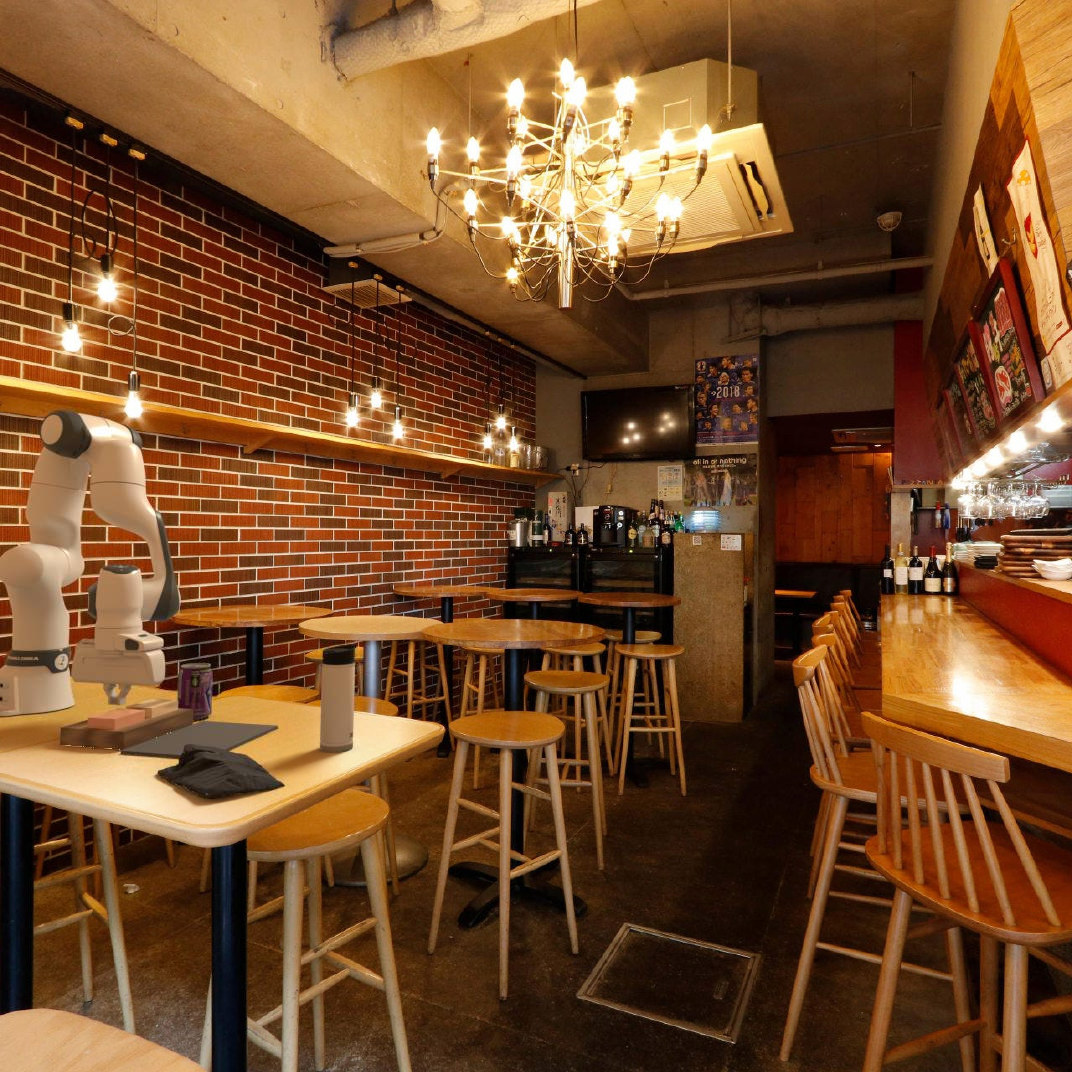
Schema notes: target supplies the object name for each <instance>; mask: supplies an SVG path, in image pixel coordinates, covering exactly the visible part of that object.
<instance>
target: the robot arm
mask: <svg viewBox="0 0 1072 1072" xmlns="http://www.w3.org/2000/svg"><path fill="white" fill-rule="evenodd" d="M39 427H40V428H39V438H40V442H41V444H42V446H43V448H42V450H41V451H40V454H39V455H38V456H39V457H38V459H37V461H36V464H35V467H34V470H33V474H32V477H31V478H32V479H31V483H30V488H29V493H28V497H27V504H26V508H25V518H26V520H27V522H28V526H29V527H28V528H29V534H30V535H29V536H30V543H23V544H20V545H17V546H14V547H11V548H10V549H8V550H7V551H5V552H4V553H3V554H2V555H1V556H0V580H1V582H2V583H3V584H4V586H5V588H6V592H7V595H8V600H9V604H10V608H11V613H12V614H11V615H12V635H11V636H12V637H11V638H12V641H11V642H12V643H11V646H12V647H11V648H10V650H9V651H3V652H1V654H2V656H1V658H6V659H5V662H4V665H3V666H2V667H1V668H0V717H9V716H17V715H26V714H38V713H39V714H40V713H46V712H54V711H59V710H63V709H67V708H70V707H73V706H75V704H76V702H75V698H74V695H73V691H72V690H73V689H72V682H71V679H72V681H73V682H74V683H86V684H88V683H89V684H102V685H103V686H102V687H103V688H102V690H103V691H104V693H105V695H106V697H107V705H109V706H124V705H126V703H127V696H128V694H129V693H130V691H131V690H132V686H139V687H140V686H143V687H145V686H146V687H153V686H157V685H160V684H162V683H163V681H164V680H165V677H166V660H165V654H164V652H163V651H162V648H163V647H164V644H165V643H164V639H163V638H162V637H160V636H157V635H155V634H152V633H151V632H150V633H149V632H148V631H146V630H144V629H143V622H144V621H149V622H162V623H163V622H167V621H168V620H170V619H172V618H173V617H174V616H175V615H176V614H177V613H179V611H180V607H181V603H182V602H181V601H182V599H181V598H182V597H181V593H180V590H179V586H178V584H177V580H176V575H175V571H174V567H173V561H172V556H171V551H170V544H169V539H168V536H167V530H166V526H165V523H164V519H163V516H162V514H161V512H160V511H158V510H157V509H155V508H154V507H152V505H151V504H150V501H149V499H148V498H147V488H146V487H147V486H146V485H147V483H146V470H145V463H144V458H143V454H142V450H143V439H142V437H141V435H140V433H139V432H138V431H136V430H135V429H134V428H132V427H130V426H128V425H127V424H124V423H119V422H116V421H114V420H111V419H109V418H106V417H105V418H104V417H102V416H98V415H97V416H94V415H91V414H86V413H79V412H76V411H75V410H69V409H56V410H52V411H51V412H49V413H48V414H47V415H46V416H45V417H44V419H43V420H42V421H41V424H40V426H39ZM89 475H90V482H89V483H90V485H89V488H90V489H89V497H90V503H91V508H92V510H93V512H94V513H95V515H96V516H97V517H99V518H100V519H101V520H103V522H106V523H107V524H110V525H112V526H114V527H116V528H119V529H122V530H125V531H128V532H130V533H134V534H136V535H137V536H139V537H141V538H142V539H143V540H144V541H145V542H146V544H147V546H148V549H149V555H150V560H151V564H152V565H151V566H152V570H153V576H152V577H150V578H142V577H143V576H142V572H141V568H139V566H136V565H132V564H127V563H126V564H124V563H113V564H107V565H105V566H103V567H101V568H100V570H99V575H98V580H97V581H96V582H94V583H93V584H91V585H90V586H89V587H88V588H87V589H86V590H87V593H88V600H87V601H88V602H87V603H88V604H87V611H86V613H87V614H89V616H91V617H92V618H93V619H95V620H96V622H95V626H94V638H91V639H89V638H83V639H81V640H80V641H78V642H77V643H76V644H75V648H74V649H75V651H74V655H73V659H72V657H71V656H72V651H71V650H72V648H71V646H70V645H69V644H70V642H69V641H70V612H69V610H68V609H67V607H66V605H65V602H64V597H63V593H62V588H64V587H67V586H68V585H71V584H72V583H74V582H76V580H78V579H79V578H80V577H81V576H82V574H83V573H84V571H85V560H84V558H83V557H84V556H83V555H82V546H81V545H82V542H81V523H82V522H81V521H82V515H83V509H84V503H85V498H86V493H87V488H88V480H89ZM4 654H5V655H4ZM71 659H72V665H71V671H70V668H69V666H70V662H71ZM117 685H118V690H119V693H118V694H117V691H116V689H115V688H116V687H117Z"/></svg>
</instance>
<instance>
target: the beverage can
mask: <svg viewBox="0 0 1072 1072" xmlns="http://www.w3.org/2000/svg"><path fill="white" fill-rule="evenodd" d="M177 673H178V674H177V696H176V698H177V699H176V700H178V708H182V709H193V721H201V720H203V718H204V719H207V717H209V716H211V715H212V712H213V708H212V705H213V673H214V672H213V670H212V668H211V663H209V662H208V663H205V662H194V663H193V662H192V663H186V664H182V665H180V670H179V672H177ZM200 719H201V720H200Z"/></svg>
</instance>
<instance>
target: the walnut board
mask: <svg viewBox="0 0 1072 1072" xmlns="http://www.w3.org/2000/svg"><path fill="white" fill-rule="evenodd" d="M87 724H88V719H86V720H82V721H79V722H75V723H71V724H67V725H65V726H64V725H63V726H61V727H60V732H59V733H60V735H59V736H60V737H59V738H60V739H59V746H60V745H71V746H82V747H81V748H84V747H92V748H91V749H97V748H112V749H118V750H117V751H121V750H124V749H127V748H129V747H132V746H135V745H138V744H140V743H143V742H146V741H149V740H151V739H154V738H156V737H160V736H162V735H165V734H167V733H170V732H173V731H176V730H179V729H182V728H184V727H187V726H190V725H193V724H194V720H193V709H182V708H178V710H175V711H171V712H168V713H165V714H162V715H159V716H156V717H153V718H146V717H145V720H143V721H140V722H137V723H134V724H131V725H128V726H125V727H122V728H119V729H115V730H111V729H97V728H87ZM83 746H84V747H83ZM93 747H94V748H93ZM119 749H120V750H119Z"/></svg>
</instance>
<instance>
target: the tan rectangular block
mask: <svg viewBox="0 0 1072 1072" xmlns="http://www.w3.org/2000/svg"><path fill="white" fill-rule="evenodd" d="M125 709H134V710H145V717H146V718H153V717H156V716H159V715H162V714H165V713H168V712H171V711H175V710H178V700H177V699H166V698H165V699H163V698H161V699H160V698H151V699H148V700H144V701H142V702H137V703H133V704H130V705H126V708H125Z"/></svg>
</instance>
